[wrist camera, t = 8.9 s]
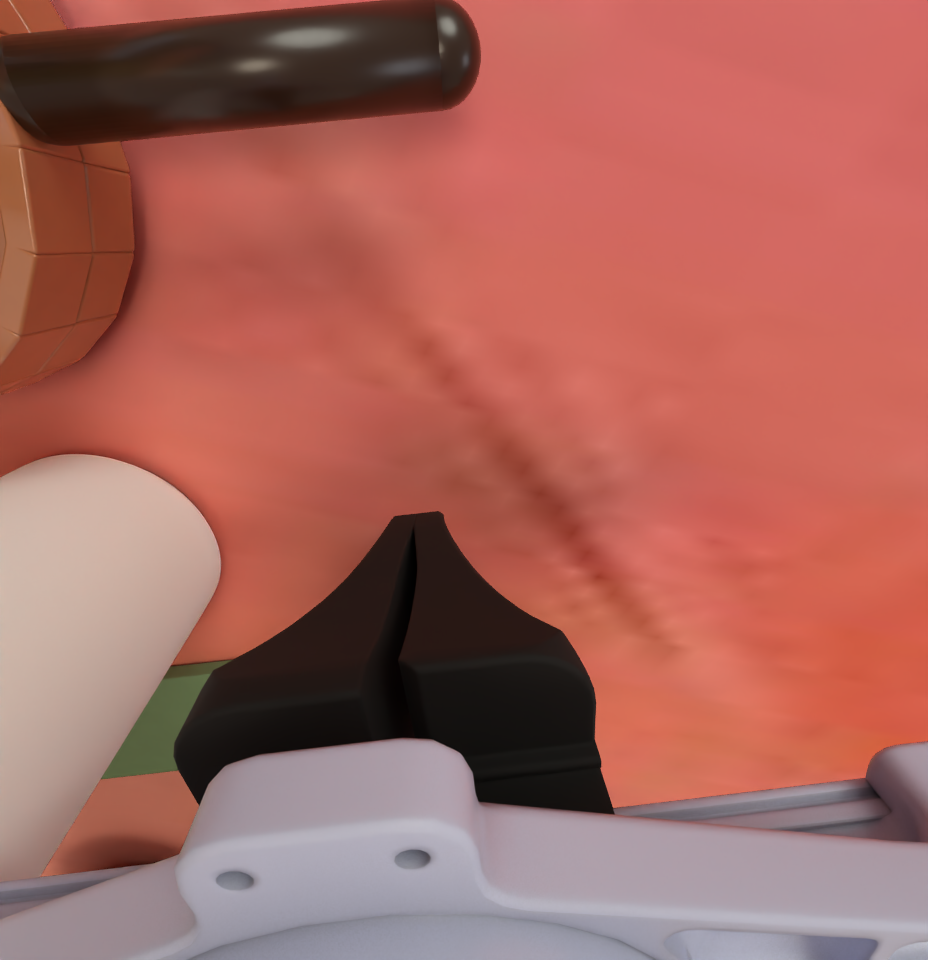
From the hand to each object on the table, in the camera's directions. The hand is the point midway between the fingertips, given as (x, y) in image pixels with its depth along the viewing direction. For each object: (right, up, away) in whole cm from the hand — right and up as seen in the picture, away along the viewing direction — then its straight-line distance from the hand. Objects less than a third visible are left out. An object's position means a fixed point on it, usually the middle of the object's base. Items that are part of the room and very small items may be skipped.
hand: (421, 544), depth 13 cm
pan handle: (-2, +9, -5) cm, 10 cm away
